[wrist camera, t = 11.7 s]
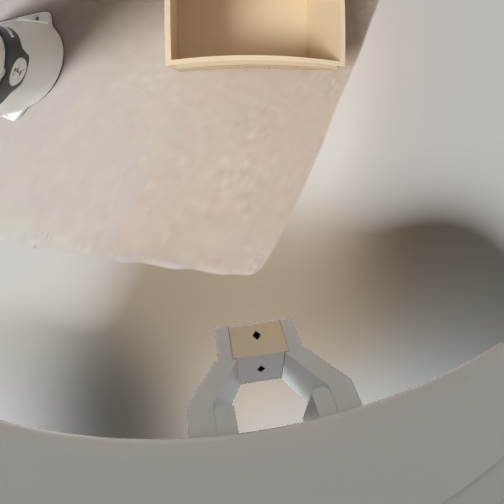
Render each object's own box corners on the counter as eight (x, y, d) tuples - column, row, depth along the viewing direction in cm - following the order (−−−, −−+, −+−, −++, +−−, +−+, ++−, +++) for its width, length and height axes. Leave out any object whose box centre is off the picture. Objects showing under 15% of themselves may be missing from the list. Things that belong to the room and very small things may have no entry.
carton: (174, 72, 35) (166, 70, 25) (173, -18, 26) (166, -48, 16) (309, 70, 38) (344, 70, 28) (308, -16, 29) (342, -38, 19)
